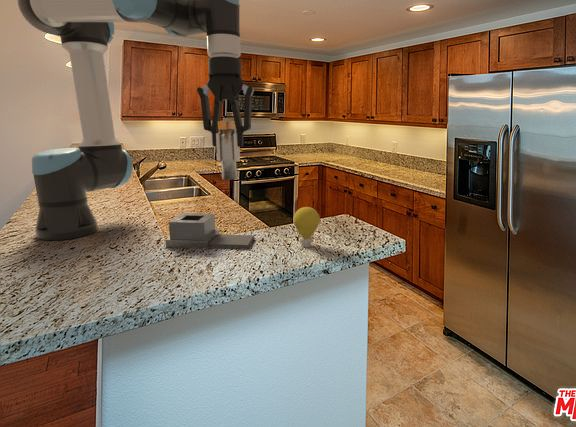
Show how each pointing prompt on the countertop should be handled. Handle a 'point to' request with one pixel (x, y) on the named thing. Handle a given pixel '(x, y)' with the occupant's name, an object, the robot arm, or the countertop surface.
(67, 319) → the countertop surface
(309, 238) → the light bulb
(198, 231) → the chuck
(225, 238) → the mat
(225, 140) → the key
